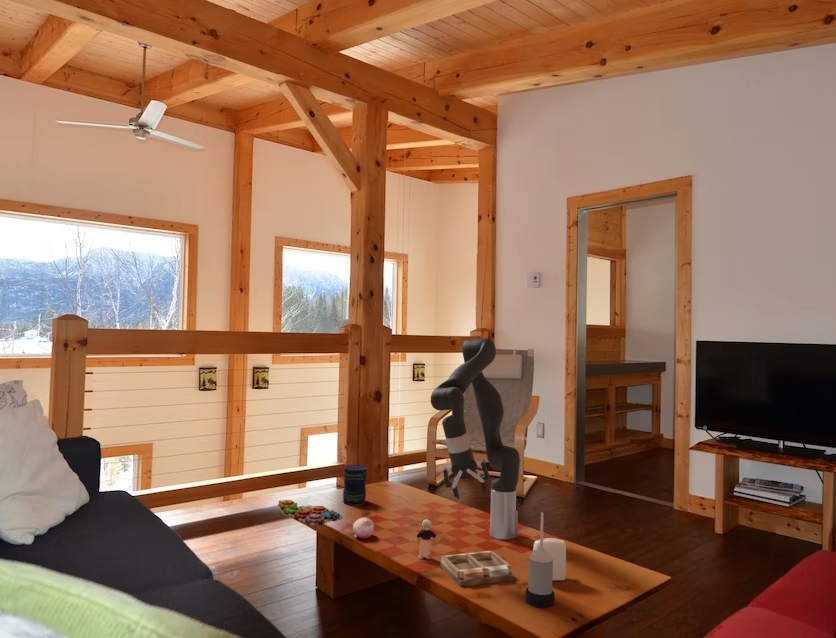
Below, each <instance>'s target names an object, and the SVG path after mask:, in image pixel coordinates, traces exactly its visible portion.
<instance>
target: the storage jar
mask: <svg viewBox="0 0 836 638" xmlns="http://www.w3.org/2000/svg"><path fill="white" fill-rule="evenodd" d="M343 469H344V470H343V481H344V485H343V490H342V499H343V501H342V503H343V504H344V505H347V506H361V505H364V504H366V497H367V489H366V481H367V466H365V465H361V464H348V465H345V466H344V467H343Z"/></svg>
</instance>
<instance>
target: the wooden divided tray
mask: <svg viewBox="0 0 836 638" xmlns="http://www.w3.org/2000/svg"><path fill="white" fill-rule="evenodd" d="M440 557H441V558H440V565H439V566H440V568H441V569H443V570H444V572H445V573H446V574H447V575H448V576H449V577H450V578H451V579H452V580H453V581H454V582H455V583H456V584H457V585H458V586H459V587H460V588H461V587H469V586H477V585H485V584H486V583H487V584H494V582H495V583H500V582H508V581H509V582H510V580H511V581H515V574H514V573H512V572H511V564H509V563H508V562H507V561H506V560H504V559H503V558H502V557H501V556H499V555H498V554H497V553H495V552H494V550H486V551H477V552H476V551H475V552H465V553H457V554H445V555H441V556H440Z"/></svg>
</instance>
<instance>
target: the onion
mask: <svg viewBox="0 0 836 638" xmlns="http://www.w3.org/2000/svg"><path fill="white" fill-rule="evenodd" d="M352 530H353V533H354V535H353V536H354V537H355V538H356V539H357V540H359V539H362V540H363V539H368V538H371V537H372V535H373V533H374V530H375V523H374V521H373V520H372V519H371V518H369V517H367V516H365V517H360V518H358V519H356V521H354V523H353V525H352Z"/></svg>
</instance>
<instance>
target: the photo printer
mask: <svg viewBox="0 0 836 638" xmlns="http://www.w3.org/2000/svg"><path fill="white" fill-rule="evenodd" d="M539 547H540V539H538V540H537V539H536V540H535V541H534V542H533V548H532V549H533V551H534V550H536V549H538V548H539ZM543 548H544V550H546V551H548V552H549V553H550V555H551V556H552V558H553V578H552V581H565V580H566V578H567V577H566V574H567V573H566V572H567V563H566V562H567V545H566V542H565V541H564V540H562V539H559V538H552V537H547V538H543ZM533 551H532V552H533Z"/></svg>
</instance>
